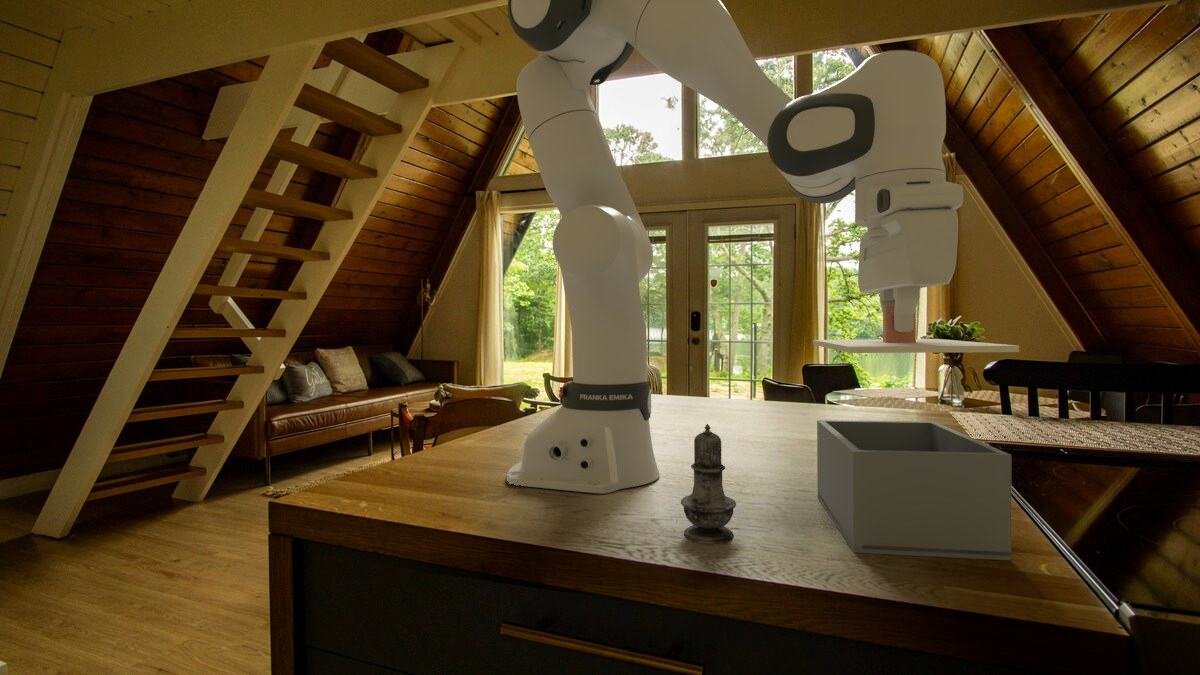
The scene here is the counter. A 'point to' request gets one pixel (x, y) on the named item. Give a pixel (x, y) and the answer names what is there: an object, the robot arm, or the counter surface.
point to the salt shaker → (708, 494)
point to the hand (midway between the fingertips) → (898, 331)
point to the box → (914, 489)
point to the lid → (909, 342)
